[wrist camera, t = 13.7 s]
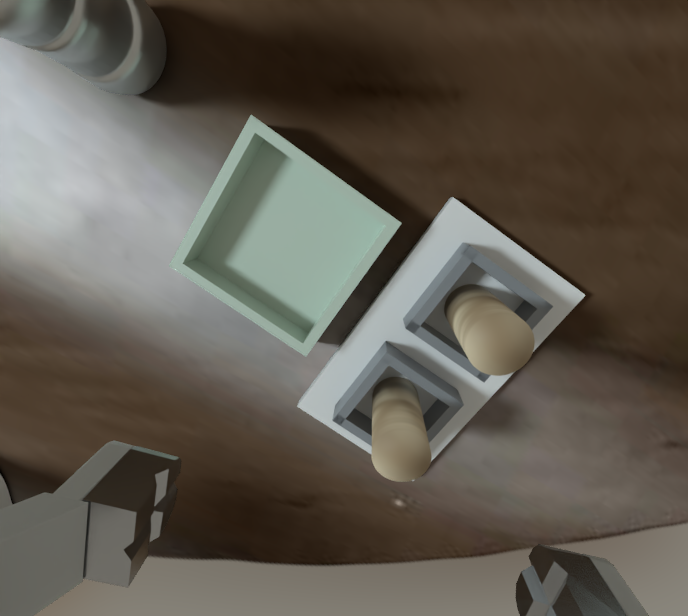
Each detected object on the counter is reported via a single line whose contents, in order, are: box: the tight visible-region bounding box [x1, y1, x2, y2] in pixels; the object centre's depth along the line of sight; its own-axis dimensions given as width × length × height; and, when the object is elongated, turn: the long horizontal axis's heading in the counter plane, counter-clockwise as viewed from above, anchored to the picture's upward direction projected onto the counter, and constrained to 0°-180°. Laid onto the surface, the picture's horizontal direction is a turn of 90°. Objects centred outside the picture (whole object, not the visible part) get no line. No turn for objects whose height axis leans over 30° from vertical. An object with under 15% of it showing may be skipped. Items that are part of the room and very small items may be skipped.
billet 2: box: [444, 284, 535, 376], centre depth 27 cm, size 4×4×8 cm
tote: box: [169, 115, 402, 357], centre depth 29 cm, size 13×13×4 cm
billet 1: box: [372, 377, 432, 482], centre depth 29 cm, size 4×4×8 cm
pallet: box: [297, 197, 586, 481], centre depth 31 cm, size 22×13×4 cm, turn 146°
